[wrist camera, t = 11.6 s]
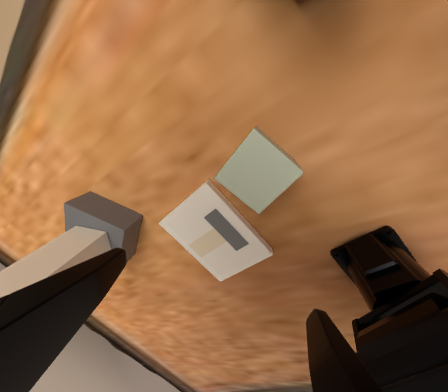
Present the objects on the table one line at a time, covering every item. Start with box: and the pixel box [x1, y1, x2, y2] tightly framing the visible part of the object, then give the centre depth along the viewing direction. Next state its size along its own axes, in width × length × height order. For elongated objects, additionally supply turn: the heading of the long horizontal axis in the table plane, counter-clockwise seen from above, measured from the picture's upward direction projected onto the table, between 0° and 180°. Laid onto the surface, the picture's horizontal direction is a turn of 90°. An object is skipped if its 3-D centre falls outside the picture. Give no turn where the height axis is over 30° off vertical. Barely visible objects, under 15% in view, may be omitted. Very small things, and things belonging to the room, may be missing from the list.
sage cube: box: [214, 126, 304, 214], centre depth 16 cm, size 5×5×5 cm
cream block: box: [0, 226, 111, 298], centre depth 18 cm, size 4×4×12 cm
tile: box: [159, 179, 273, 282], centre depth 23 cm, size 12×9×1 cm
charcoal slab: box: [64, 191, 143, 263], centre depth 25 cm, size 8×8×4 cm
